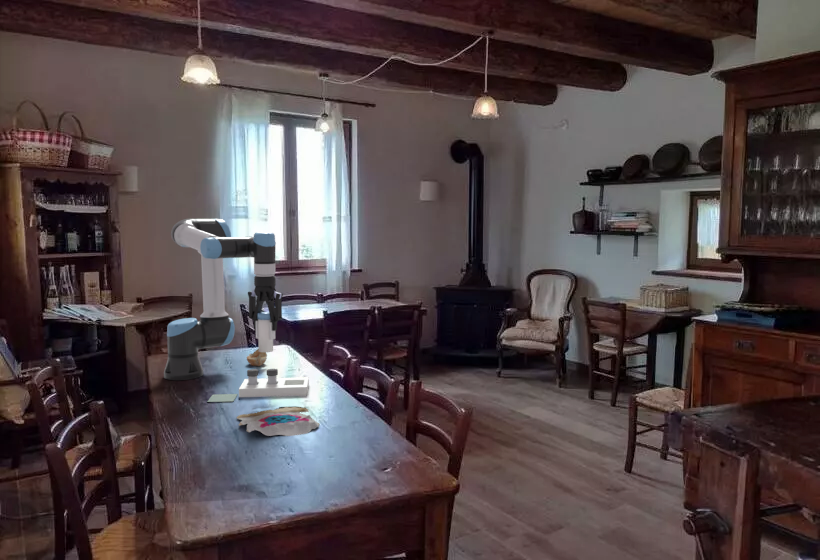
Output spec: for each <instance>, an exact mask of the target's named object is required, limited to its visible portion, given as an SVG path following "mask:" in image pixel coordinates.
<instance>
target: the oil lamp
mask: <svg viewBox="0 0 820 560" xmlns="http://www.w3.org/2000/svg"><path fill="white" fill-rule="evenodd" d="M267 356H268V354H267V352H259V347H258V348H257V349H256V350H254V352H253V353H249V354H248V355H247V356H246V360H247V363H248V364H249V365H250V366H252V367H259V366H263V364H265V363H266V361H267V359H268V357H267Z"/></svg>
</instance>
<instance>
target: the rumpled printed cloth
mask: <svg viewBox="0 0 820 560" xmlns="http://www.w3.org/2000/svg"><path fill="white" fill-rule="evenodd" d="M309 411H310V410H309V409H308V408H305V407H303V406H279V407H278V408H274V409H267V410H261V411H258V412H257V413H256V412H251V413H246V414H245V413H244V414H239V415H238V416H236V419H238V420H240V422H239V424H238V426H245V425H246V432H248V433H251V432H254V431H258V432H260V433H262V434H263V435H264V436H267V437H269V436H270V437H271V436H278V435H280V436H286V437H291V436H292V437H293V436H299V435H306V434H307V435H308V433H309V432H311V431H312V430H315V429H316V428H319V427H320V423H319V422H317V421H316V420H315V419H313V418H312V417H311V415H310V414H309V415H307V414H304V413H306V412H308V413H309ZM300 412H301V413H300Z"/></svg>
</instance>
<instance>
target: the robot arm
mask: <svg viewBox="0 0 820 560" xmlns="http://www.w3.org/2000/svg"><path fill="white" fill-rule="evenodd" d="M170 236H171V240H172V241H173V242H174V243H175V244H176V245H178V246H179V247H182V248H191V249H193V250H196V251H197V253H198V254H200V255H201V256H200V258H201V260H200V261H201V282H202V283H201V285H202V304H203V305H202V306H203V312H202V313H201V314H200V315H199V320H198V319H197V318H195V317H188V318H186V317H185V318H180V319H175V320H173V321H170V322H169V323H168V324H167V327H166V328H167V331H166V340H167V361H166V364H165V368H164V371H163V378H164V379H166V380H168V381H169V380H170V381H187V380H188V381H189V380H193V379H199V378H201V377H202V376H203V375H204V369H203V365H202V363H201V360H200V357H199V350H200V349H202V350H203V349H207V348H209V349H210V348H215V347H216V348H217V347H223V346H226V345H229V344H230V343H232V341H233V339H234V336H235V331H236V329H235V328H236V327H235V326H236V325H235V323H234V320H233V318H231V317H230V316H229V313H228V312H227V311H226V309H225V307H226V306H225V286H224V285H225V283H224V282H225V281H224V280H225V279H224V260H223V259H230V258H231V259H237V258H239V259H241V258H242V259H243V258H253V275H254V277H253V280H254V281H253V282H254V283H253V284H254V289H253V290H251V291H248V292H247V296H248V318H249V319H251V320H252V321H253V329H254V330H255V339H257V340H258V313H259V312H263V306H264V303H266V305H267V308H268V312H269V314H270V318H271V321H270V322H269V340H273V341H274V340H276V331H278V330H277V329H278V322H279V321H281V320H283V310H282V309H283V306H282V299H283V296H284V295H283V293H282V292H278V291H277V290H276V285H277V283H276V282H277V281H276V279H277V278H276V276H275V274H276V244H277V243H276V235H275V233H274V232H261V231H259V232H254V234H253V236H250V235H249V236H239V237H238V236H233V237H232V233H231V230H230V227H229V225H228V223H227V221H225V220H224V219H221V218H185V219H182V220H179V221H178V222H176V223H175V224H174V225H173V226H172V228H171V232H170Z"/></svg>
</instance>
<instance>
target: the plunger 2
mask: <svg viewBox="0 0 820 560" xmlns="http://www.w3.org/2000/svg"><path fill="white" fill-rule="evenodd" d="M278 371H279V370H278V368H269V369H266V376H267V378H268V385H269V384H277V378H278V377H277V376H278Z"/></svg>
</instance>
